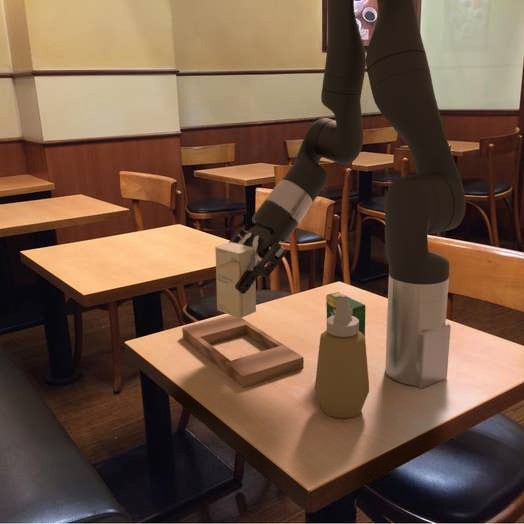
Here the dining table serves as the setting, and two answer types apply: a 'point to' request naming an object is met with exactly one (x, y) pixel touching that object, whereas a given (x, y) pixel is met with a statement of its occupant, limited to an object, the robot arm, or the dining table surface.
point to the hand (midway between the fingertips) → (228, 284)
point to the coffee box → (355, 308)
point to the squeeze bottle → (342, 364)
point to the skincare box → (234, 280)
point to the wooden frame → (250, 366)
